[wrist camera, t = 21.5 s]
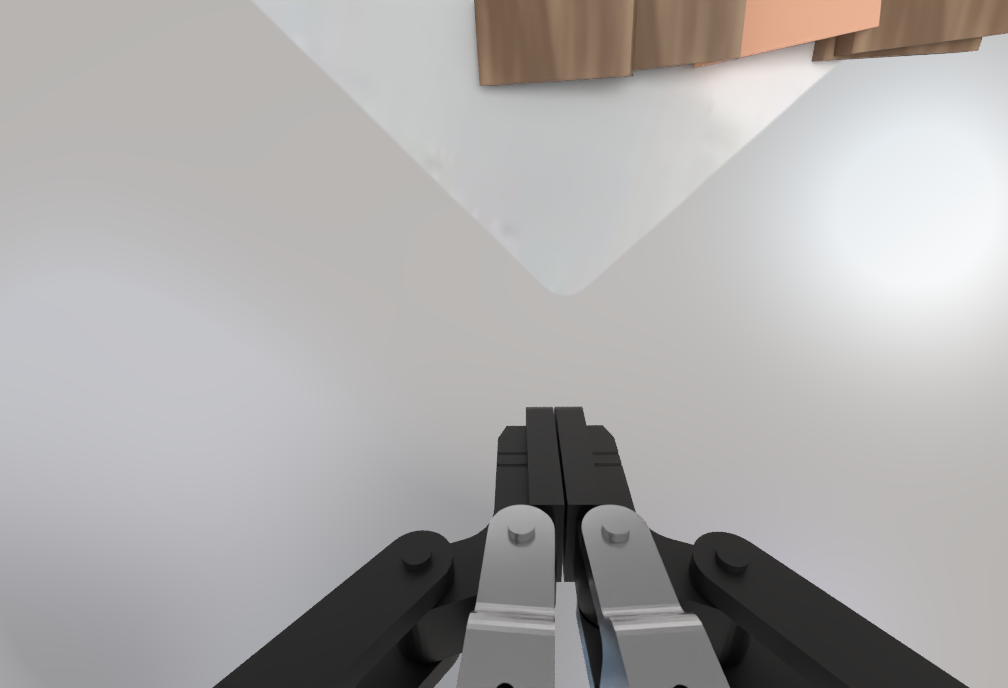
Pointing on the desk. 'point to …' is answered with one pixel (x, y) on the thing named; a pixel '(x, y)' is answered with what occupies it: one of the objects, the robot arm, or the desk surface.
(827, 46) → the domino
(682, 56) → the domino
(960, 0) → the domino
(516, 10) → the domino
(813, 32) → the domino
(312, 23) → the desk surface
